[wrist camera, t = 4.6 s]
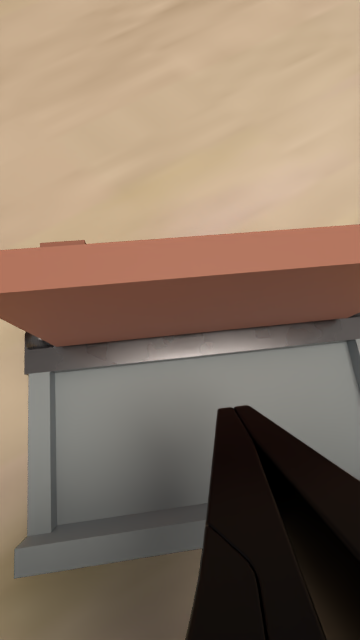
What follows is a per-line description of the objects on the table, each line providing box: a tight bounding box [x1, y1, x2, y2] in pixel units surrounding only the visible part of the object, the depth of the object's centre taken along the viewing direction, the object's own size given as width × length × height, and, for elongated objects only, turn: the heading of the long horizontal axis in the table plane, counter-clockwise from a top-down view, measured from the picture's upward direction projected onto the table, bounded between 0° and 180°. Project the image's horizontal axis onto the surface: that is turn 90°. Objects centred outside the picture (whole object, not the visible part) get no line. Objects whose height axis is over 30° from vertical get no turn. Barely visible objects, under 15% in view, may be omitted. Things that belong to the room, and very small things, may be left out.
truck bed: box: [14, 339, 360, 579], centre depth 15 cm, size 8×18×3 cm, turn 96°
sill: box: [24, 313, 360, 375], centre depth 17 cm, size 2×18×2 cm, turn 96°
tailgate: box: [0, 224, 360, 347], centre depth 12 cm, size 2×15×8 cm, turn 96°
